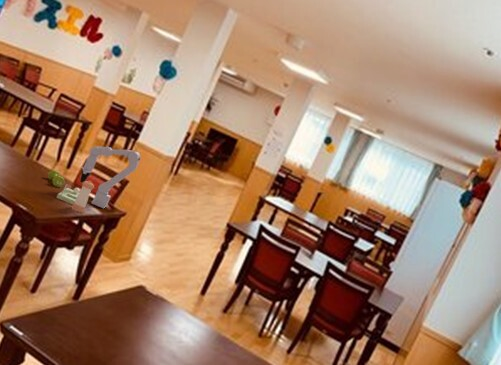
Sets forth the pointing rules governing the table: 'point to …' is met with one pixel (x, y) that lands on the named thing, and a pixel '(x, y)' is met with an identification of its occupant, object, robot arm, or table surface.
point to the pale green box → (67, 195)
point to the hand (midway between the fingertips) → (82, 182)
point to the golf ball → (76, 190)
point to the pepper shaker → (83, 196)
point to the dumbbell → (56, 178)
